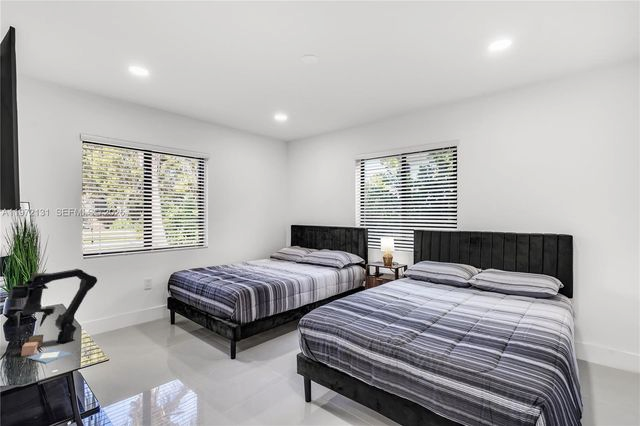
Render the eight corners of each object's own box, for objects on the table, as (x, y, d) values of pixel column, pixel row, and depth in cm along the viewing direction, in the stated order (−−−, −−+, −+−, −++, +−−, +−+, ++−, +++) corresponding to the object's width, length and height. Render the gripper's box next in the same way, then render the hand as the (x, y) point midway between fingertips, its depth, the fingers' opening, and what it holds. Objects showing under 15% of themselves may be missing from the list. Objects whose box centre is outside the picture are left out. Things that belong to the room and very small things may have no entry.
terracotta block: (24, 352, 163) (25, 342, 163) (36, 351, 165) (38, 341, 165) (21, 356, 158) (22, 346, 159) (33, 355, 161) (35, 345, 161)
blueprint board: (52, 349, 168) (52, 348, 168) (70, 354, 165) (71, 353, 165) (27, 358, 157) (27, 357, 157) (46, 363, 153) (46, 362, 153)
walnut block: (30, 344, 172) (31, 335, 173) (42, 343, 175) (43, 334, 175) (27, 347, 168) (29, 338, 168) (39, 346, 171) (41, 337, 171)
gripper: (5, 301, 155) (-1, 332, 154) (53, 300, 165) (48, 330, 164) (12, 296, 165) (7, 326, 163) (57, 296, 174) (52, 324, 173)
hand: (29, 326), depth 166 cm, fingers open, 9 cm apart
